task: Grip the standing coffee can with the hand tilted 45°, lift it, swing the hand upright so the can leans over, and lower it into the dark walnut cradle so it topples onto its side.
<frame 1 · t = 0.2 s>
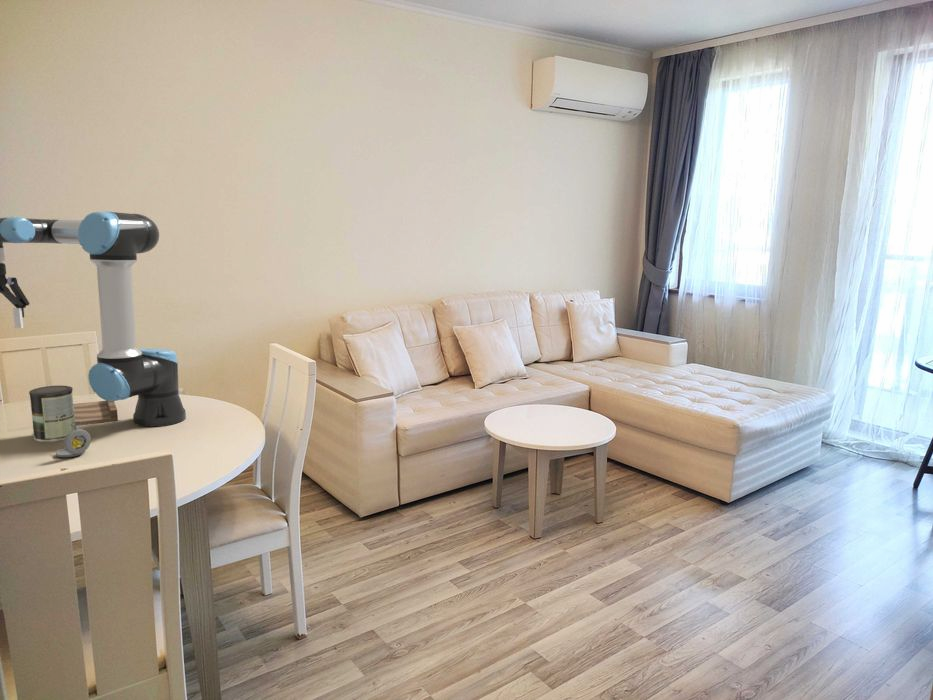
pocket watch: (73, 456, 161), on the table
cradle: (85, 414, 198), on the table
coffee can: (55, 437, 176), on the table
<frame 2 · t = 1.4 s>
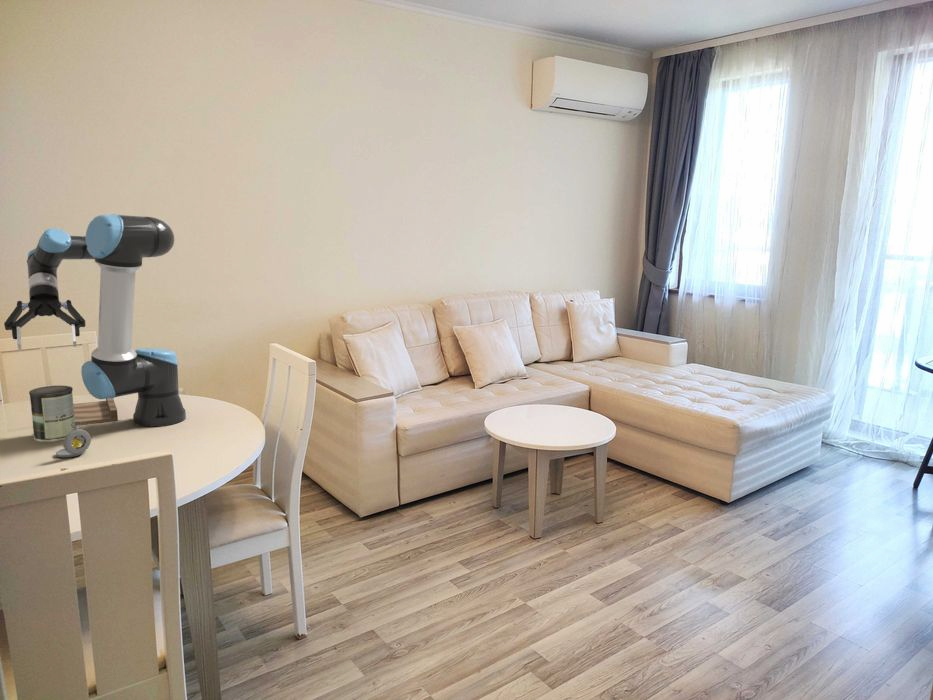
hand: (47, 345, 180), 25 cm above the table, tool tilted 45°, fingers open, 13 cm apart
nothing on the table moved.
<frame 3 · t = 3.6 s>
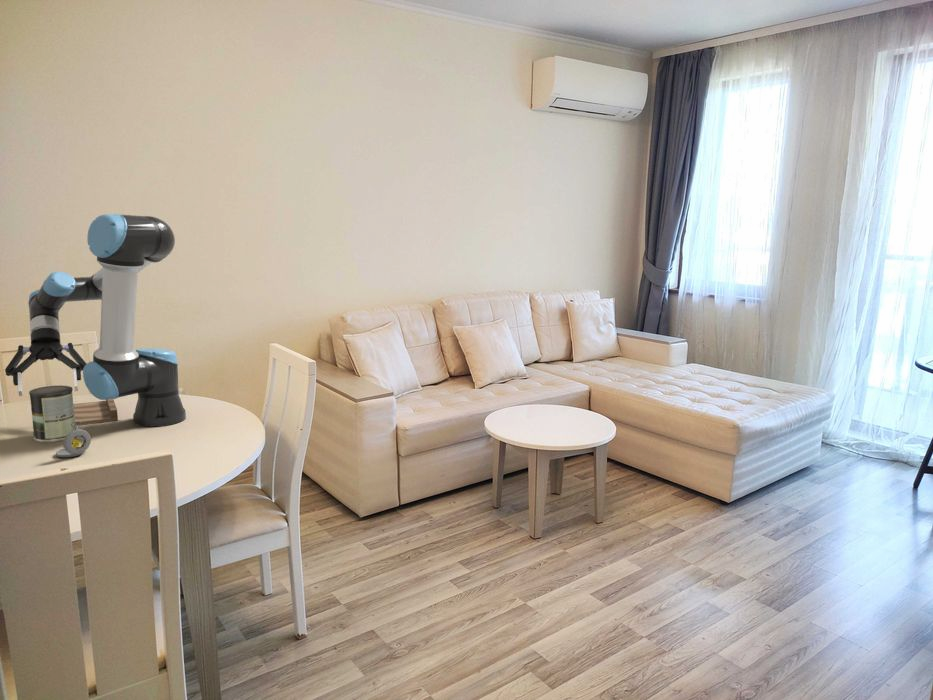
hand: (48, 391, 178), 12 cm above the table, tool tilted 45°, fingers open, 13 cm apart
nothing on the table moved.
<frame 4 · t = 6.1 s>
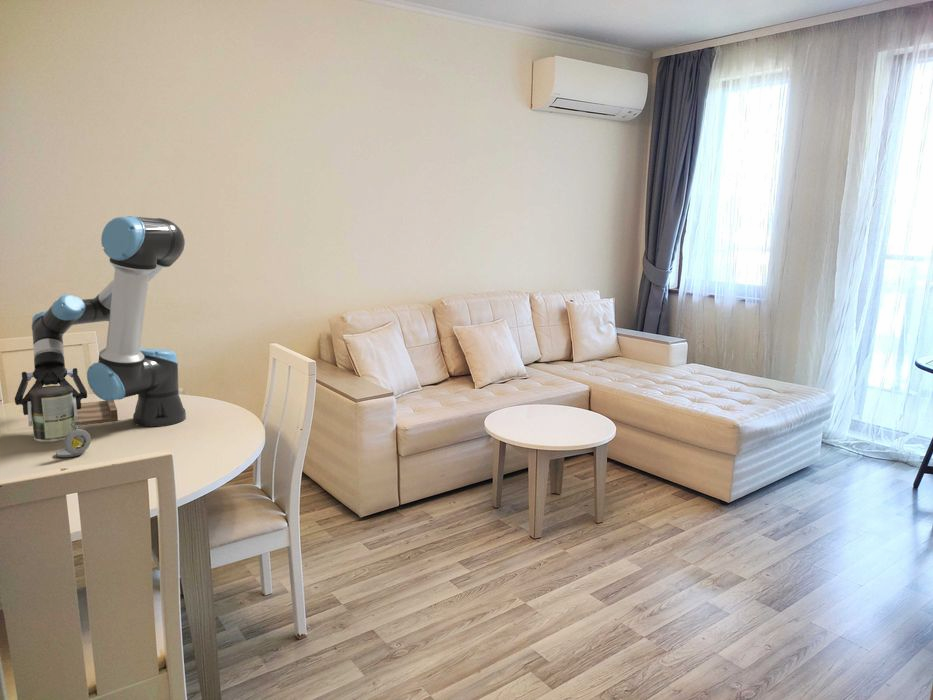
hand: (53, 420, 172), 6 cm above the table, tool tilted 45°, fingers closed on coffee can, 10 cm apart
coffee can: (55, 437, 176), on the table, touching gripper
everything else where it was.
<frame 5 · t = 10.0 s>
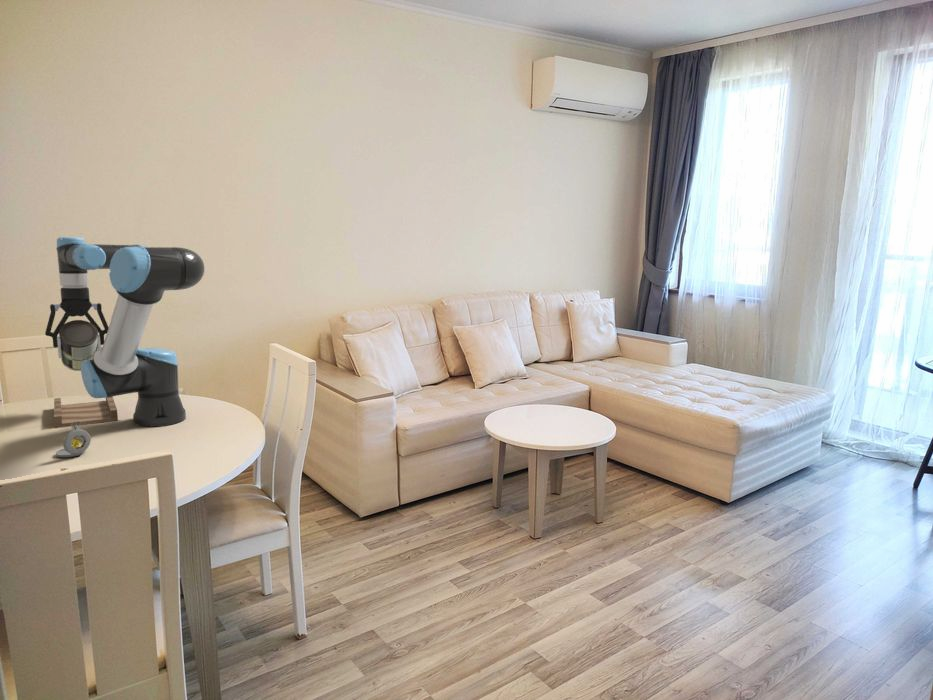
hand: (80, 356, 194), 20 cm above the table, tool pointing down, fingers closed on coffee can, 10 cm apart
coffee can: (79, 358, 199), point 18 cm above the table, touching gripper
everything else where it was.
when the fingers open (8 cm above the table, at t = 12.8 s): coffee can moves 4 cm, resting on cradle.
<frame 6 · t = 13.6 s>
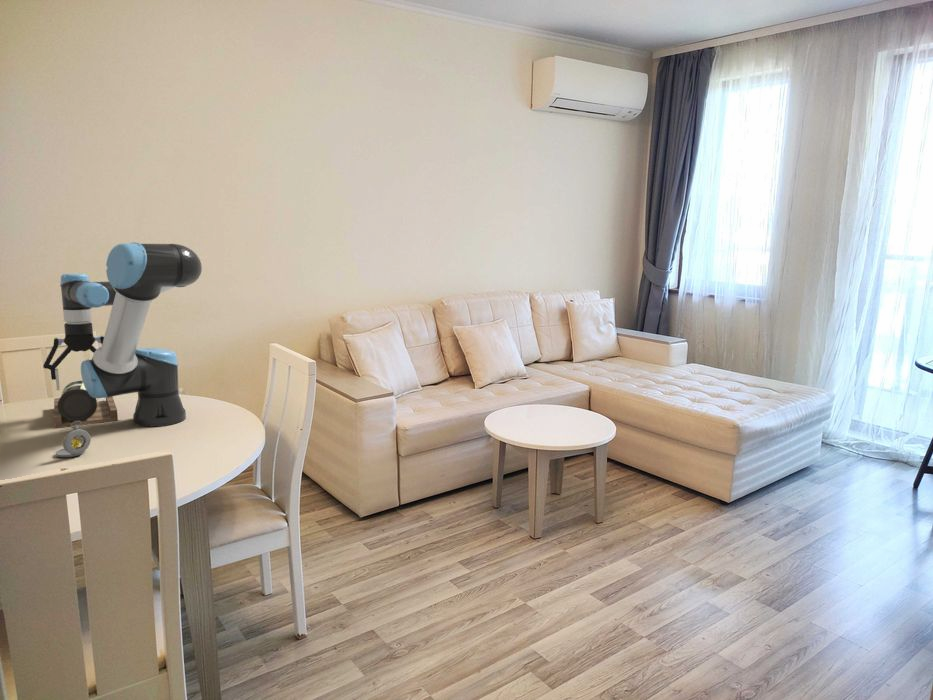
hand: (83, 387, 196), 9 cm above the table, tool pointing down, fingers open, 13 cm apart
coffee can: (80, 395, 198), point 6 cm above the table, touching cradle
everything else where it was.
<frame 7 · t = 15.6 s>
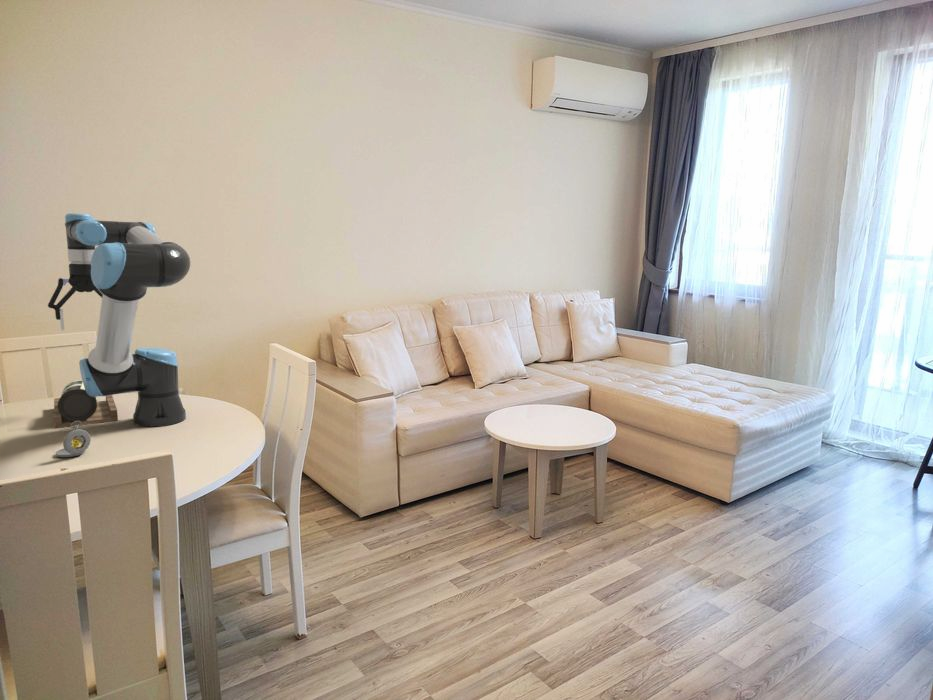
hand: (87, 328, 197), 28 cm above the table, tool pointing down, fingers open, 13 cm apart
nothing on the table moved.
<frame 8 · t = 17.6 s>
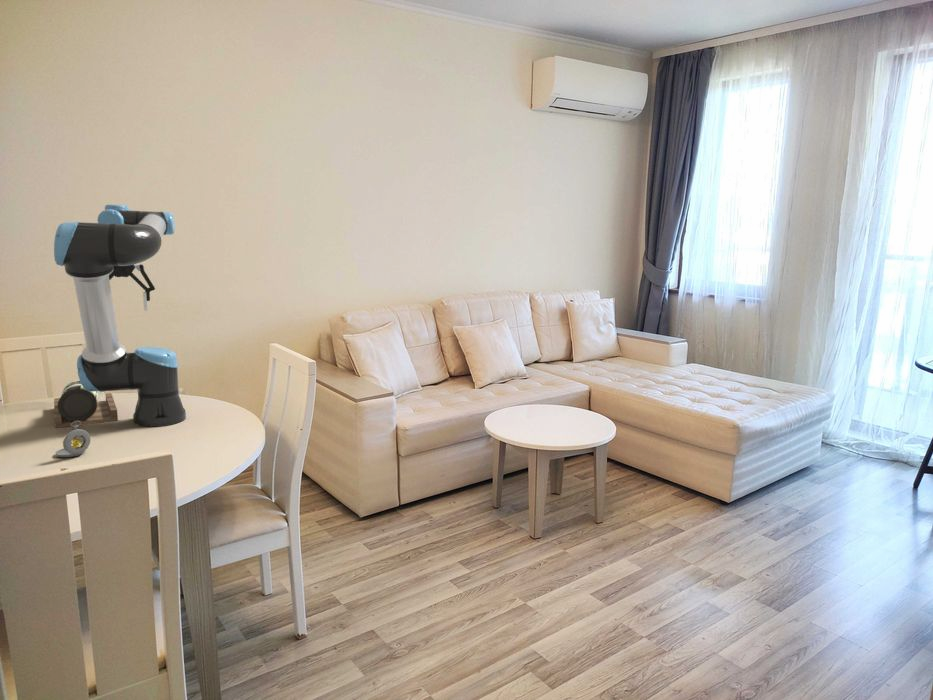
hand: (124, 310, 214), 32 cm above the table, tool pointing down, fingers open, 13 cm apart
nothing on the table moved.
at the end: coffee can tilted 89°; coffee can touching cradle; coffee can inside the target area on the cradle (2.8 cm from its centre), point 6.0 cm above the cradle's base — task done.
